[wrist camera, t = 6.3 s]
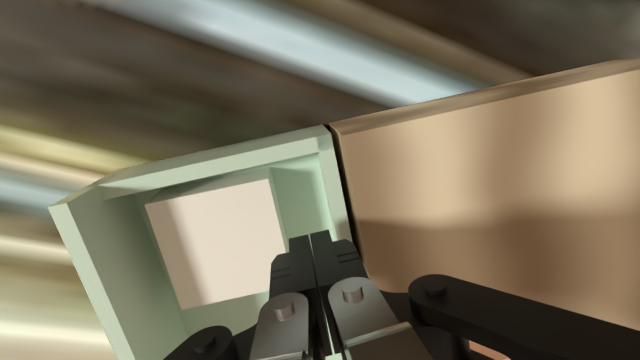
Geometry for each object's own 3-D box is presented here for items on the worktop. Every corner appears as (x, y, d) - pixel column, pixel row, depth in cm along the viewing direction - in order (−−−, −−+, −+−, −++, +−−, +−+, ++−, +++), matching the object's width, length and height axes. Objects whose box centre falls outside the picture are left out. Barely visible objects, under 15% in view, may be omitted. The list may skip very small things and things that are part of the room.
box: (322, 124, 17) (338, 141, 12) (376, 388, 21) (403, 479, 16) (117, 169, 16) (47, 207, 11) (217, 429, 21) (197, 533, 16)
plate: (611, 60, 17) (705, 54, 13) (603, 331, 22) (672, 385, 18) (328, 123, 17) (342, 135, 13) (381, 387, 21) (403, 455, 17)
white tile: (144, 204, 14) (160, 189, 16) (181, 310, 15) (192, 284, 17) (268, 178, 14) (269, 167, 16) (293, 285, 16) (292, 262, 18)
